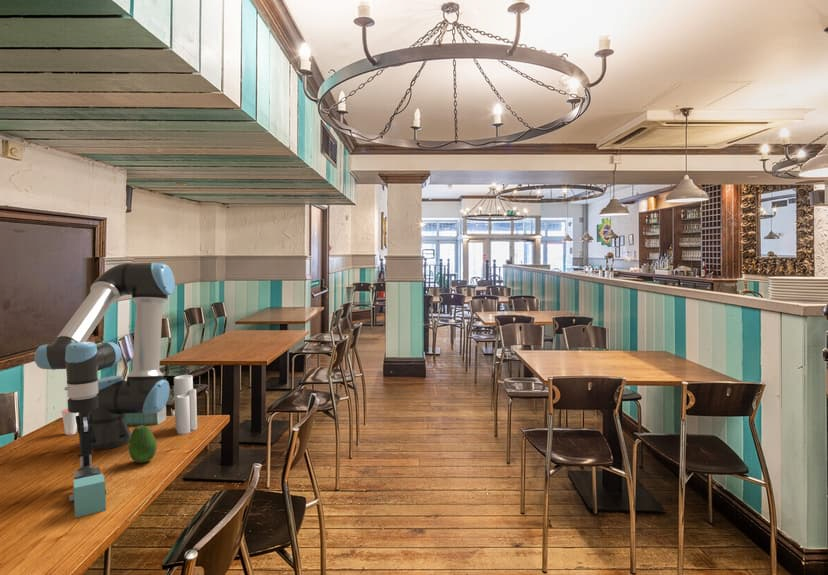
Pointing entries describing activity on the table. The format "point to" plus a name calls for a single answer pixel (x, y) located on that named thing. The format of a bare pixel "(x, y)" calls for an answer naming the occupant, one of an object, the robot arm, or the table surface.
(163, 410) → the box
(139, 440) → the fruit
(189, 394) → the vase
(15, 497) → the table surface
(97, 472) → the guide
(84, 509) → the socket
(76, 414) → the cup
